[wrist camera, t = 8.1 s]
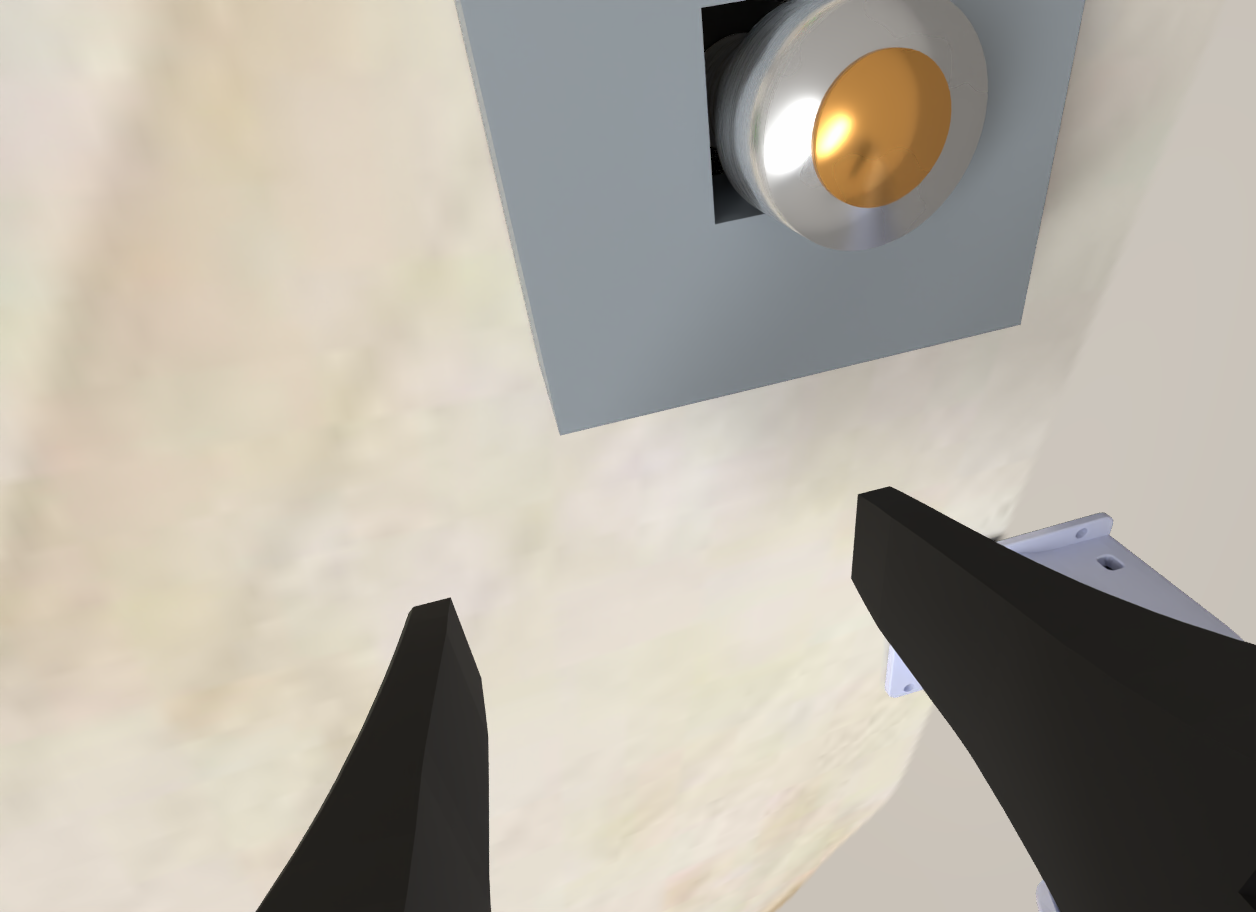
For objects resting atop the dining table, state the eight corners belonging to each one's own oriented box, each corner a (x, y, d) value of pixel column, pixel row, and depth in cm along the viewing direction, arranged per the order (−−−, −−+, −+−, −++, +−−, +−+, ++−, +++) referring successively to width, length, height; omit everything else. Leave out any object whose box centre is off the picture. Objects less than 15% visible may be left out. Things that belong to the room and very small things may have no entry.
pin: (819, -12, 16) (1020, -29, 10) (810, 169, 18) (971, 235, 13) (654, 6, 15) (773, 0, 10) (665, 192, 18) (767, 271, 12)
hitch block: (992, -291, 14) (1163, -386, 11) (928, 275, 21) (1020, 324, 17) (403, -216, 13) (391, -300, 9) (539, 364, 19) (560, 435, 16)
